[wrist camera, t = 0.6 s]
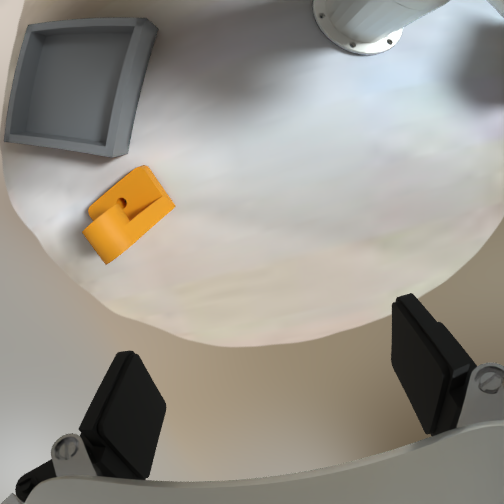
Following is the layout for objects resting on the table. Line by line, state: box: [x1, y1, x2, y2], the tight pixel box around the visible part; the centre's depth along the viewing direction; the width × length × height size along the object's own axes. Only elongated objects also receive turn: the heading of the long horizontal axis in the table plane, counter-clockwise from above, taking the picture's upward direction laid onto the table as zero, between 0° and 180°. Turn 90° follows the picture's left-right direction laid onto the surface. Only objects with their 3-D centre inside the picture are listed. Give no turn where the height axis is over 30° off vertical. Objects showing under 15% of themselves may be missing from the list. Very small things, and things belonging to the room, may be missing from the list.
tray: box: [4, 18, 158, 158], centre depth 32 cm, size 18×20×5 cm
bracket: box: [82, 165, 175, 264], centre depth 36 cm, size 11×7×12 cm
